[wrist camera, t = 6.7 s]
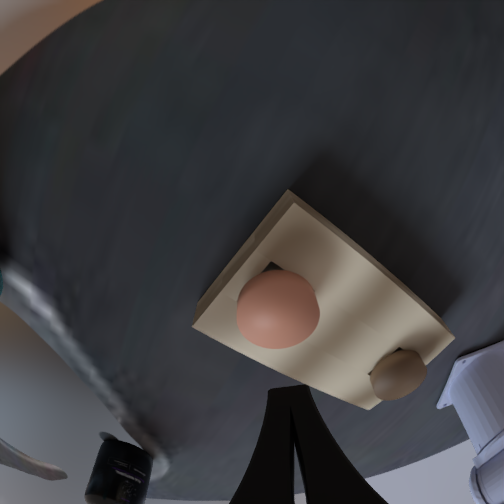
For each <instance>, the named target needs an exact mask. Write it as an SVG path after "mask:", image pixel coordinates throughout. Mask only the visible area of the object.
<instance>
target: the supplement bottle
mask: <svg viewBox="0 0 504 504" xmlns="http://www.w3.org/2000/svg"><path fill="white" fill-rule="evenodd" d="M152 466H153V460H152V458H151V456H150V455H149V454H148V453H147V452H145V451H144V450H142V449H141V448H139V447H137V446H135V445H132V444H130V443H127V442H123V441H119V440H107V441H104V442H103V443H102V444H101V446H100V449H99V452H98V455H97V458H96V461H95V464H94V466H93V469H92V473H91V476H90V479H89V482H88V485H87V488H86V492H85V501H86V502H87V504H145V500H146V495H147V490H148V485H149V481H150V476H151V471H152Z"/></svg>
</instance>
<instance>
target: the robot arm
mask: <svg viewBox="0 0 504 504" xmlns="http://www.w3.org/2000/svg"><path fill="white" fill-rule="evenodd" d="M451 404H453V405H454V407H455V409H456V411H457V413H458V415H459V417H460V419H461V421H462V423H463V425H464V427H465V429H466V431H467V433H468V436H469V438H470V440H471V442H472V444H473V446H474V448H475V451H476V453H477V456H476V457H475V458H474V459H473V462H474V464H475V466H474V467H473V468H472V470H471V474H470V479H469V487H470V492H471V495H472V498H473V500H474V502H475V503H476V504H504V340H503V341H501V342H499V343H496V344H494V345H491V346H489V347H486V348H484V349H481V350H478V351H476V352H473V353H470V354H468V355H465V356H462V357H459V358H458V359H457V360H456V361H455V363H454V366H453V369H452V371H451V374H450V376H449V379H448V381H447V383H446V386H445V388H444V390H443V393H442V395H441V397H440V399H439V401H438V404H437V408H438V409H440V408H443V407H446V406H449V405H451ZM294 443H295V447H296V452H297V457H298V462H299V466H300V471H301V476H302V480H303V485H304V490H305V495H306V503H307V504H388V503H387V502H386V501H385V500H384V499H383V498H382V497H381V496H380V495H379V494H378V493H377V492H376V491H375V490H374V489H373V488H372V487H371V486H370V485H369V484H368V483H367V482H366V481H365V479H364V478H363V477H362V476H361V475H360V474H359V472H358V471H357V470H356V469H355V467H354V466H353V465H352V464H351V462H350V461H349V460H348V458H347V457H346V456H345V454H344V453H343V451H342V450H341V448H340V447H339V445H338V444H337V442H336V441H335V439H334V438H333V436H332V434H331V433H330V431H329V429H328V428H327V426H326V424H325V423H324V421H323V419H322V417H321V415H320V413H319V411H318V409H317V407H316V404H315V402H314V400H313V397H312V395H311V392H310V389H309V386H308V385H306V384H304V385H297V386H289V387H281V388H273V389H270V390H269V391H268V399H267V406H266V412H265V416H264V421H263V425H262V428H261V432H260V435H259V439H258V442H257V445H256V448H255V450H254V453H253V455H252V458H251V461H250V463H249V466H248V468H247V470H246V472H245V475H244V477H243V479H242V481H241V483H240V485H239V487H238V489H237V491H236V492H235V494H234V496H233V498H232V499H231V501H230V503H229V504H295V502H294Z"/></svg>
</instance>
